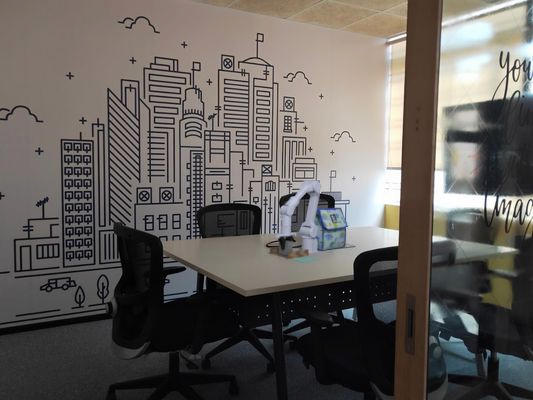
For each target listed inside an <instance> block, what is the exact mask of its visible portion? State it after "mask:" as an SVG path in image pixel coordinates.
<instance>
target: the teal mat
mask: <svg viewBox="0 0 533 400" xmlns="http://www.w3.org/2000/svg"><path fill="white" fill-rule="evenodd" d="M291 260H292V261H296V262H301V263H309V262H313V261H315V262H316V261H319V259H318V258H314V257H310V256H304V257H298V258H291Z"/></svg>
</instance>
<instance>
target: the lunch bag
mask: <svg viewBox="0 0 533 400" xmlns="http://www.w3.org/2000/svg"><path fill="white" fill-rule="evenodd" d="M314 224H315V225H316V226H317V235H316V237H315V238H316V239H317V242H318V243H317V250H319V251H321V252H322V251H323V252H324V251H327V250H333V249H339V248H344V247H345V246H346V242H347V241H346V240H347V227H348V222H347V220H346V217H345V215H344V213H343V210H342V207H329V208H327V207H325V208H320V207H318V208H317V211H316V216H315V221H314Z"/></svg>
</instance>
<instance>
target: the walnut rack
mask: <svg viewBox="0 0 533 400" xmlns="http://www.w3.org/2000/svg"><path fill="white" fill-rule="evenodd" d="M269 254H270V255H274V256H278V257H281V258H284V259H287V260H292V259H295V258H301V257H309V254H310V253H309V250H308V249H306V250H302V249H301V250H300V249H299V250H293V252H287V256H286V255H282V254H279V246H273V247H270V248H269Z"/></svg>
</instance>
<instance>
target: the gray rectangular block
mask: <svg viewBox="0 0 533 400" xmlns="http://www.w3.org/2000/svg"><path fill="white" fill-rule="evenodd" d="M293 242H294V241H288V240H286V242H285V250H281V245H280V242H279V241H278V247H279V253H278V254H280V255H284V256H287V252H292V250H293V244H294V243H293Z"/></svg>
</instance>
